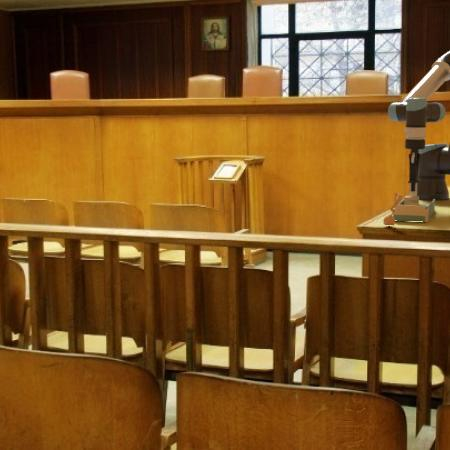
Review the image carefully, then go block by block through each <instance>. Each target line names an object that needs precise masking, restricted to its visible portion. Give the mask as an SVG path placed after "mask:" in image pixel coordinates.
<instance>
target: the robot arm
mask: <svg viewBox="0 0 450 450" xmlns="http://www.w3.org/2000/svg"><path fill="white" fill-rule="evenodd" d="M448 81H450V50H449V51H447V52H445V53H444V54H442V55H441V56H440V57H438V58H437V59H436V60H435V62H434V63H432V65H431V69H430V70H429V71H428V72H427V73H426V74H425V75H424V76H423V77H422V78H421V80H420V81H419V82H418V83H416V84H415V86H414V87H413V88H412V89H410V91H409V92H408V93H407V94H406V95H405V96H404V98H402V100H401V101H400V102H399V101H396V102H392V103H390V105H389V106H388V109H387V115H388V118H389V119H390V120H391V121H392V122H399V123H401V122H402V123H403V122H404V123H405V129H404V130H403V132H404V133H405V140H404V147H405V149H407V150H410V153H408V160H409V162H408V163H409V174H408V175H409V176H408V177H409V179H408V181H407V183H408V184H409V192H408V193H409V195H408V196H419V200H426V201H433V199H435V201H442V200H443V201H444V200H447V199H449V198H450V192H449V188H448V184H447V181H446V176H450V143H449V145H448V144H447V143H446V142H443V143H434V144H426V139H425V138H426V136H427V134H426V133H427V123H438V122H441V121H443V120H444V118H445V117H446V108H445V106H444V105H443V104H442V103H440V102H428V100H429V99H430V98H431V97H432V96H433V95H434V93H436V91H438V89H439V88H440V87H441V86H442V85H443V84H444V83H445V82H448Z"/></svg>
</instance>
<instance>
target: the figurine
mask: <svg viewBox="0 0 450 450" xmlns="http://www.w3.org/2000/svg"><path fill="white" fill-rule="evenodd" d="M393 195H394V197H393V198H394V203H393V204H392V205H391V207H390V208H389V210H390V211H391V214H389V215H388V214H387V215H386V216H384V218H383V225H384V226H385V225H393V226H395V225H396V222H395V218H394V217H393V214H394V211H395V210H394V208H395V207H396V206H397V205H398V204H399V203H400V202H401V201H402V200H403V194H402V193H398V192H397V191H395V192H394V194H393Z"/></svg>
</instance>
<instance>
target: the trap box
mask: <svg viewBox="0 0 450 450" xmlns="http://www.w3.org/2000/svg"><path fill="white" fill-rule="evenodd" d="M435 208H436V200H435V199H433V200H431V202H430V203H419V205H418V206H416V205H404V198H402V199H401V201H400V202H399V204H398V205H397V206H396V207H395V208H393V209H394V210H395V211H394V214H393V215H392V216H393V217H394V218H395V220H397V221H423V222H427V221H428V222H429V220H430V219H429V218H431V217H432V215H433V214H434V212H435V210H436V209H435ZM428 219H429V220H428ZM428 222H427V223H428Z"/></svg>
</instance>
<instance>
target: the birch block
mask: <svg viewBox="0 0 450 450" xmlns="http://www.w3.org/2000/svg"><path fill="white" fill-rule="evenodd" d="M403 199H404V205H416V206H418V205H419V204H420V199H419V196H409V195H405V196H404V197H403Z"/></svg>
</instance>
